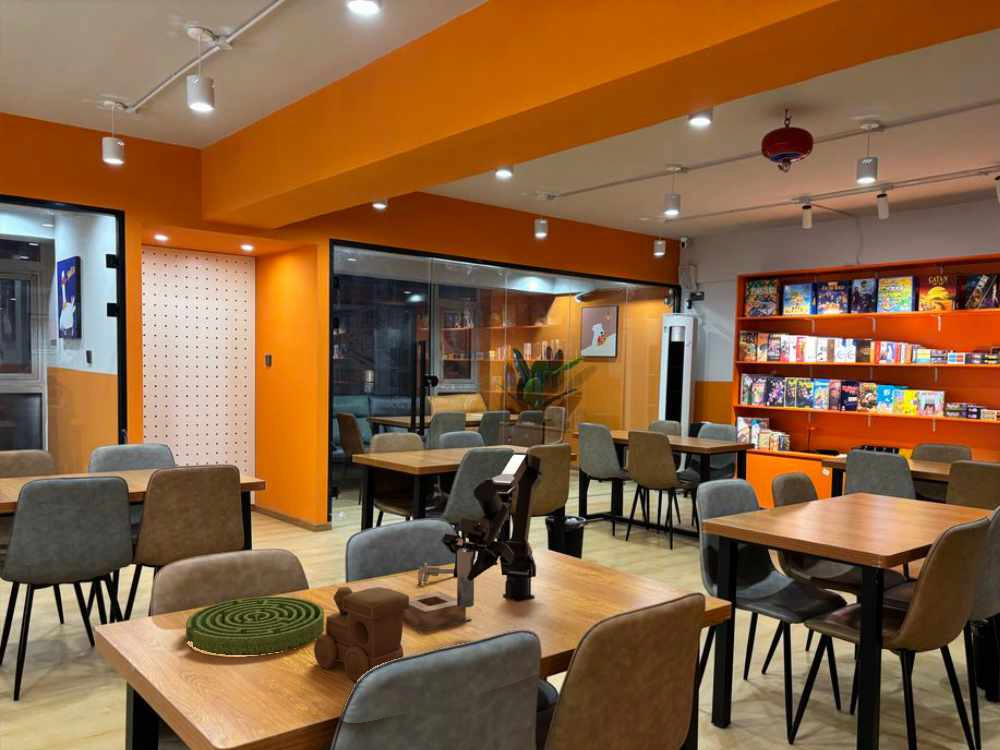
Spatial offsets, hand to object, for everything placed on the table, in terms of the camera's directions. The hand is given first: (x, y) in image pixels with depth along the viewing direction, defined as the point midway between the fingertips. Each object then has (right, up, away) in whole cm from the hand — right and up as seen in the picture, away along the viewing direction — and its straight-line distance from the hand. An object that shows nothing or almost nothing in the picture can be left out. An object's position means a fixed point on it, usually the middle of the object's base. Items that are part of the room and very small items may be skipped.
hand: (461, 578), depth 185 cm
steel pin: (+1, -7, +1) cm, 7 cm away
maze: (-48, -13, 0) cm, 50 cm away
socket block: (-8, -13, +11) cm, 19 cm away
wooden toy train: (-20, -14, -21) cm, 33 cm away
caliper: (-7, -13, +49) cm, 51 cm away
